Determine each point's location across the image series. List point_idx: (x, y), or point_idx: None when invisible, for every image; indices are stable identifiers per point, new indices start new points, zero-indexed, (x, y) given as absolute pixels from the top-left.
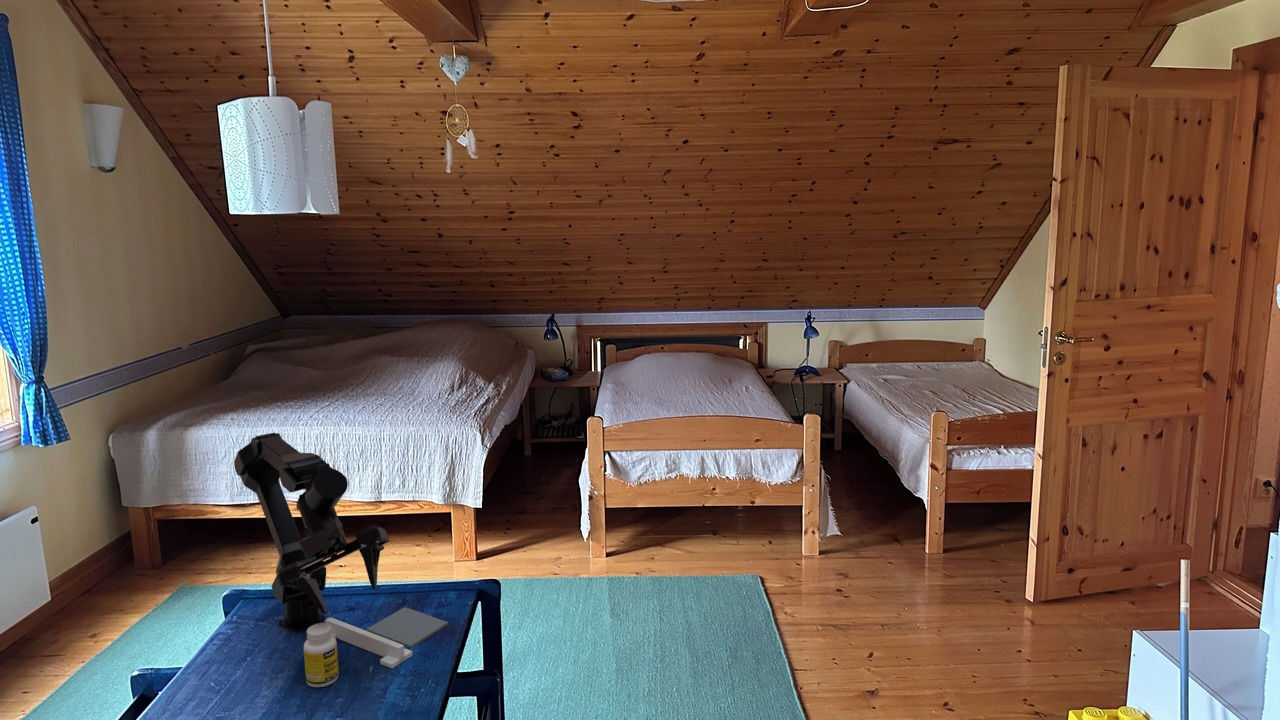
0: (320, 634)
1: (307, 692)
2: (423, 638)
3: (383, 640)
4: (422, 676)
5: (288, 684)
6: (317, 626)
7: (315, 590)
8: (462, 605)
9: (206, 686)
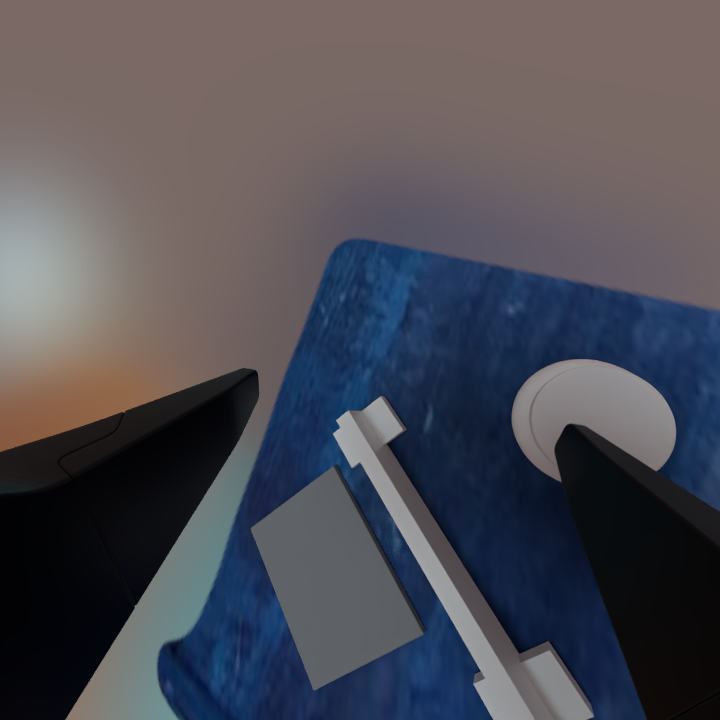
0: (586, 366)
1: None
2: (305, 487)
3: (377, 472)
4: (334, 342)
5: (688, 438)
6: None
7: (704, 620)
8: (215, 596)
9: None
